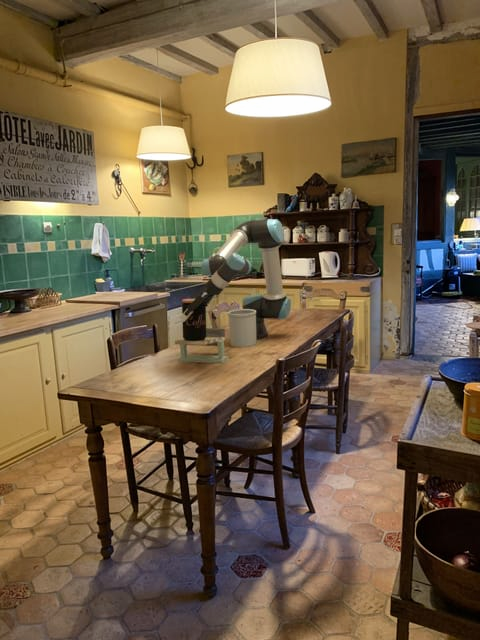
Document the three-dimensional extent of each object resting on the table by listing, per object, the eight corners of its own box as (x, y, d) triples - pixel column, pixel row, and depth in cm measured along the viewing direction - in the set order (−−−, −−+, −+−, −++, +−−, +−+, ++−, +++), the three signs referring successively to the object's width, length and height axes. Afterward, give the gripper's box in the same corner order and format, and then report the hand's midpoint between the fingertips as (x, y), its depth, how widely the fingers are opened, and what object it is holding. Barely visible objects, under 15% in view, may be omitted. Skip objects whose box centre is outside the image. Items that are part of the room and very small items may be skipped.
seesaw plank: (196, 342, 247) (196, 328, 246) (227, 343, 242) (227, 328, 241) (172, 348, 221) (172, 331, 221) (206, 349, 216) (206, 332, 216)
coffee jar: (184, 341, 217) (183, 301, 215) (181, 337, 228) (180, 298, 225) (208, 340, 220) (207, 300, 218) (204, 336, 230) (203, 298, 228)
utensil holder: (255, 347, 251) (253, 313, 248) (226, 347, 254) (224, 314, 251) (259, 340, 266) (258, 308, 262) (232, 340, 269) (231, 309, 265)
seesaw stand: (184, 356, 241) (183, 337, 239) (227, 358, 234) (226, 338, 232) (177, 361, 233) (176, 341, 231) (221, 363, 226) (220, 342, 224)
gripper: (212, 293, 203) (182, 328, 211) (232, 285, 226) (204, 317, 234) (200, 280, 204) (170, 316, 211) (221, 274, 227) (193, 306, 234)
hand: (188, 316), depth 223 cm, fingers open, 13 cm apart
